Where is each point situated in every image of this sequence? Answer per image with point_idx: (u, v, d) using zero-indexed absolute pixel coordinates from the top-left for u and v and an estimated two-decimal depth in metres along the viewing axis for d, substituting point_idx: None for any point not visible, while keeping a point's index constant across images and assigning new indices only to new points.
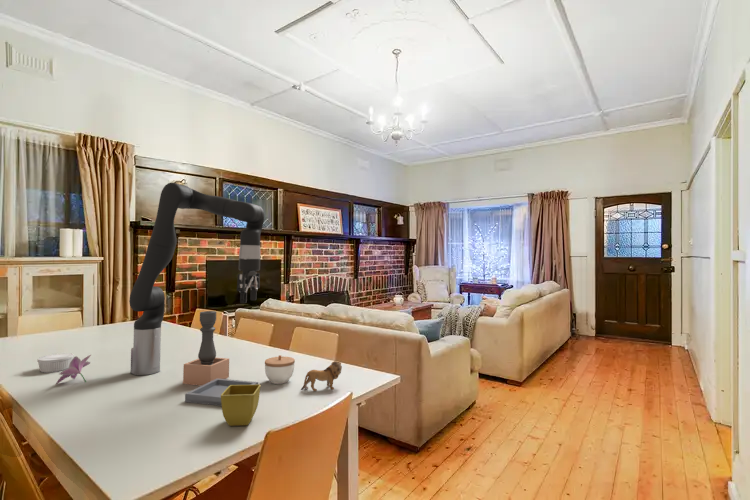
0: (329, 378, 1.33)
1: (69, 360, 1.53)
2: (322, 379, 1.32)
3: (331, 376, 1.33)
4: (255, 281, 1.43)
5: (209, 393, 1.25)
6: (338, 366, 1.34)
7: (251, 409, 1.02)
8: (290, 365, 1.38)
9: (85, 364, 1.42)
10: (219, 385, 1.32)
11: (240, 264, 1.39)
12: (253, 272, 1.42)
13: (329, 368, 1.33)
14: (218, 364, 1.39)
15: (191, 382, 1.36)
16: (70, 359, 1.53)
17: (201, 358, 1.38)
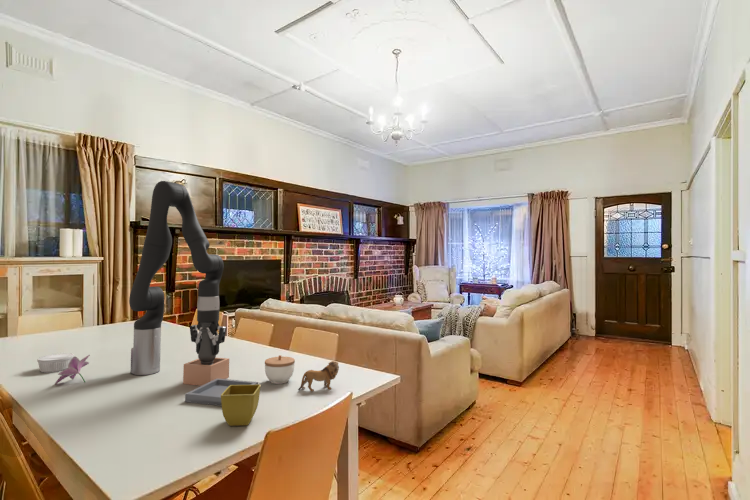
0: (326, 378, 1.32)
1: (69, 360, 1.53)
2: (319, 379, 1.32)
3: (329, 376, 1.32)
4: None
5: (209, 393, 1.25)
6: (335, 366, 1.34)
7: (251, 409, 1.02)
8: (290, 365, 1.38)
9: (84, 364, 1.42)
10: (219, 385, 1.32)
11: (212, 316, 1.39)
12: None
13: (326, 368, 1.33)
14: (218, 364, 1.39)
15: (191, 382, 1.36)
16: (70, 359, 1.53)
17: (201, 358, 1.38)
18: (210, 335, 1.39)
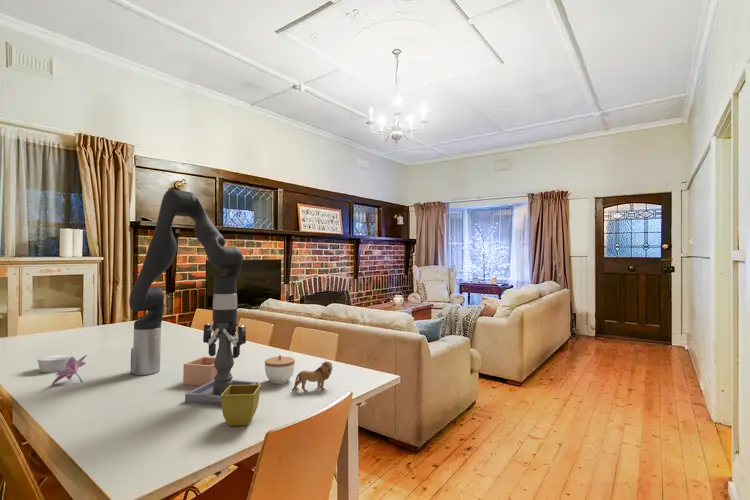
0: (320, 379, 1.32)
1: None
2: (313, 380, 1.31)
3: (322, 376, 1.32)
4: None
5: (209, 393, 1.25)
6: (329, 367, 1.34)
7: (251, 409, 1.02)
8: (290, 365, 1.38)
9: (81, 364, 1.42)
10: None
11: (229, 316, 1.24)
12: None
13: (320, 369, 1.33)
14: None
15: (191, 382, 1.36)
16: None
17: (217, 367, 1.24)
18: (227, 337, 1.24)
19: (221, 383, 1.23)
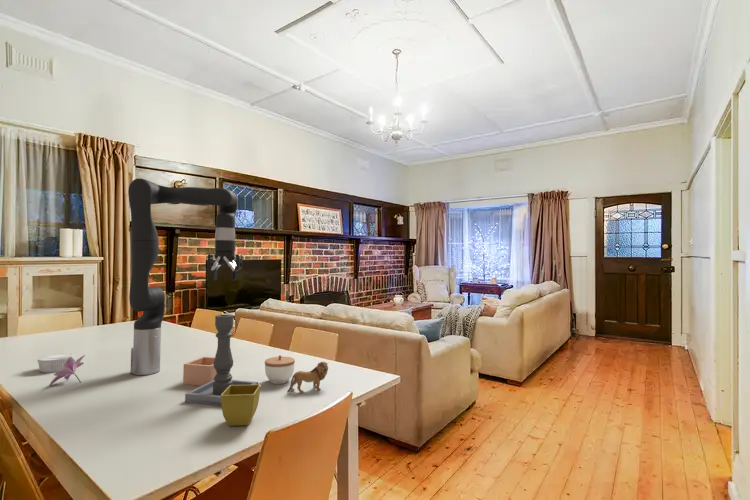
0: (316, 379, 1.31)
1: None
2: (309, 380, 1.31)
3: (318, 377, 1.31)
4: None
5: (209, 393, 1.25)
6: (325, 367, 1.33)
7: (251, 409, 1.02)
8: (290, 365, 1.38)
9: (79, 365, 1.42)
10: None
11: (228, 245, 1.50)
12: None
13: (316, 369, 1.32)
14: None
15: (191, 382, 1.36)
16: None
17: (216, 368, 1.23)
18: (227, 263, 1.51)
19: (221, 383, 1.23)
